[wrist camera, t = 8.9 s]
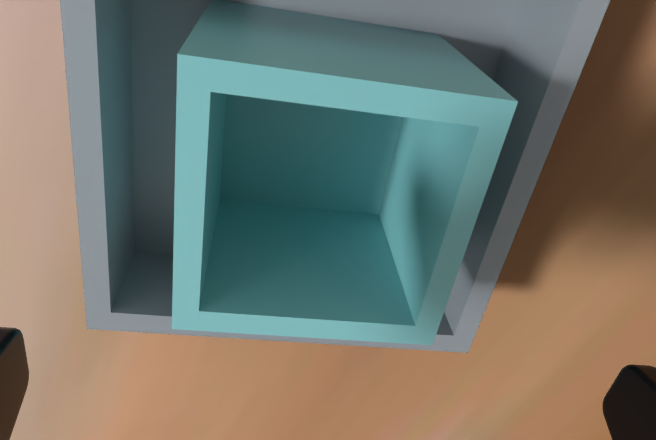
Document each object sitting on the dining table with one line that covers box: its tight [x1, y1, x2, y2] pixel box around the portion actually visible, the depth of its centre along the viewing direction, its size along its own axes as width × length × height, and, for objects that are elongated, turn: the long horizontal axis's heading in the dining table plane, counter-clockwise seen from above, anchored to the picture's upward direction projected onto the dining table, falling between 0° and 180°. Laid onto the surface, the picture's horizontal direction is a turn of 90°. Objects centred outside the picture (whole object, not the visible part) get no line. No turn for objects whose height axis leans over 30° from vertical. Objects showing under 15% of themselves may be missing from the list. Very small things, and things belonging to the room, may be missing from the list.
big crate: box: [60, 0, 610, 353], centre depth 15 cm, size 12×12×4 cm
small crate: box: [172, 0, 518, 345], centre depth 14 cm, size 6×6×6 cm
